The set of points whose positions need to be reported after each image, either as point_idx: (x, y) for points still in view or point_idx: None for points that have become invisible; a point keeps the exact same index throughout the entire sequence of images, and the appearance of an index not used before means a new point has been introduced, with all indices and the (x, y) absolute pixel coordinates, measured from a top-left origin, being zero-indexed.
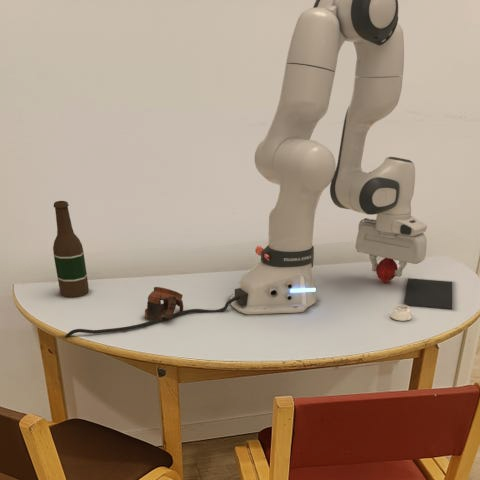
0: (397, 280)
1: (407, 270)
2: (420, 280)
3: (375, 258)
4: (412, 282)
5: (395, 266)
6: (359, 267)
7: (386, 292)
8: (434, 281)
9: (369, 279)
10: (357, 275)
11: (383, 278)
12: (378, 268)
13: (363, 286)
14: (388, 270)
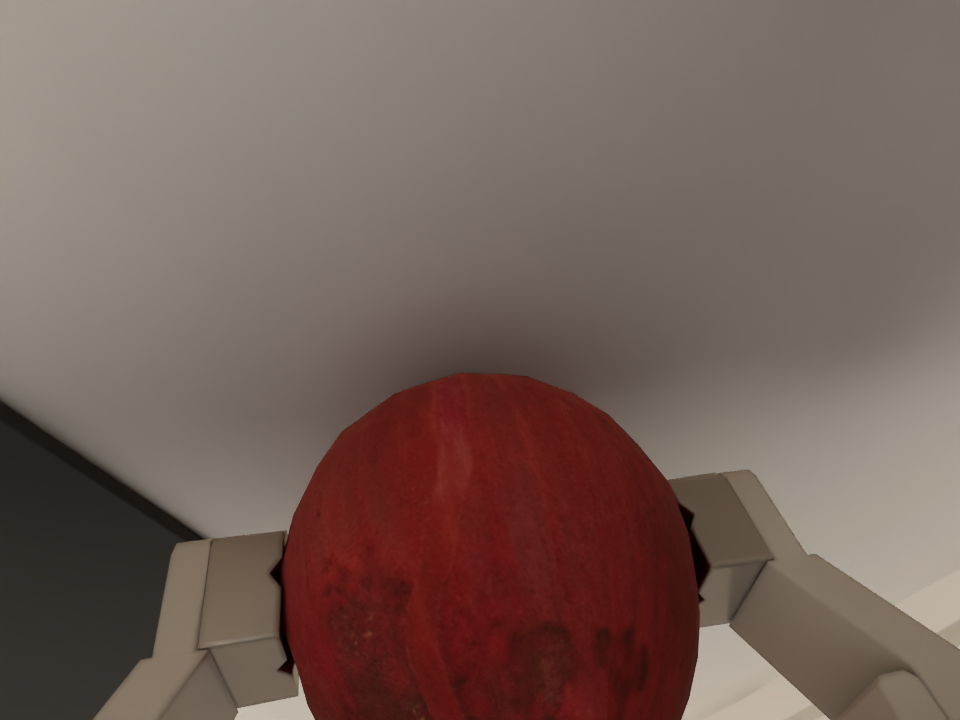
0: None
1: None
2: None
3: (827, 703)
4: None
5: (318, 716)
6: (896, 538)
7: (61, 7)
8: (47, 716)
9: (703, 370)
10: (887, 380)
11: (432, 383)
12: (618, 505)
13: (684, 22)
14: (361, 554)
